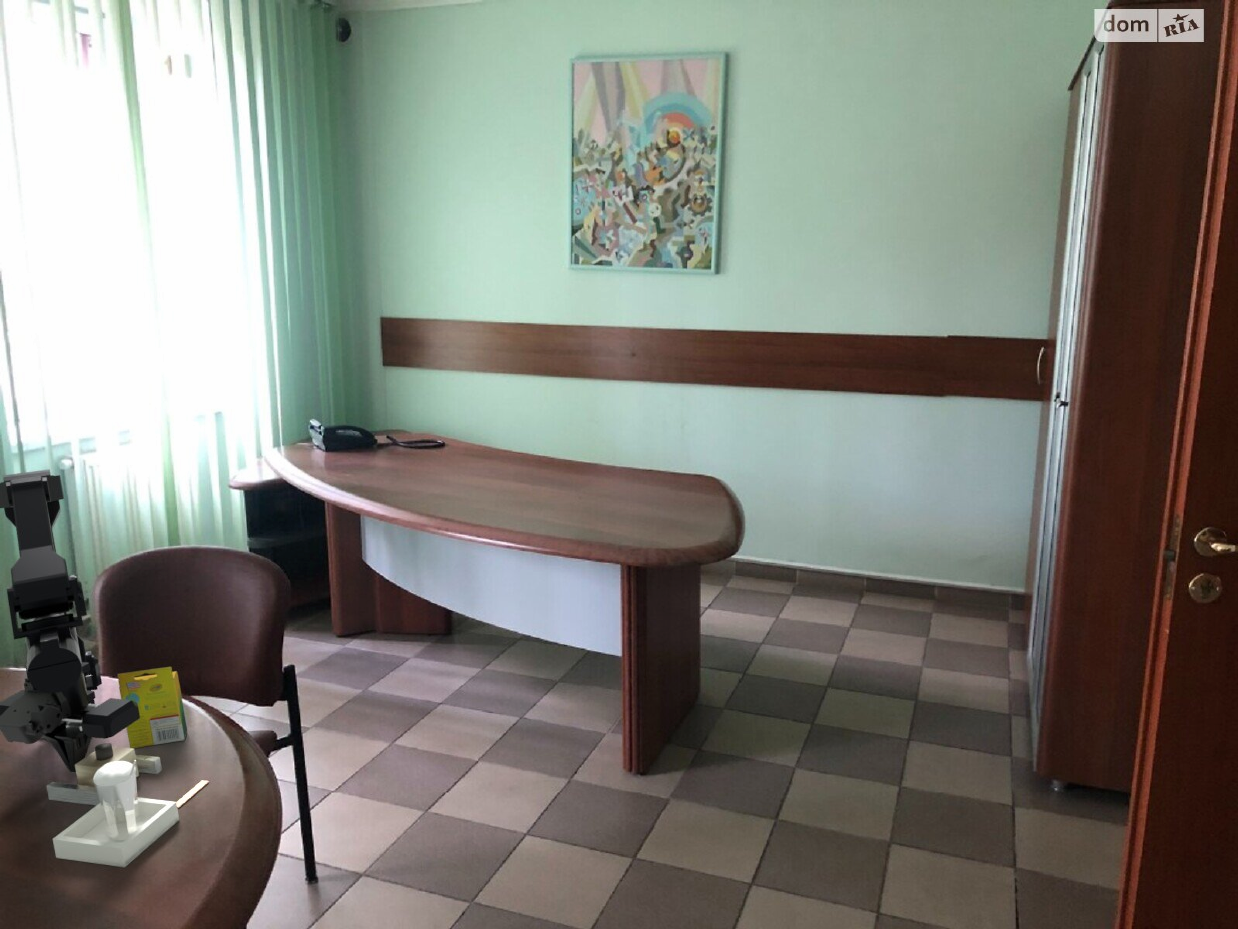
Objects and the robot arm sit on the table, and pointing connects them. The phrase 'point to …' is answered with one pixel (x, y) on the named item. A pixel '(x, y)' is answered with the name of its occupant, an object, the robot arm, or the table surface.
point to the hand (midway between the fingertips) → (76, 771)
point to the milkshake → (118, 798)
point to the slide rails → (90, 793)
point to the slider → (102, 761)
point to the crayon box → (154, 706)
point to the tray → (96, 846)
